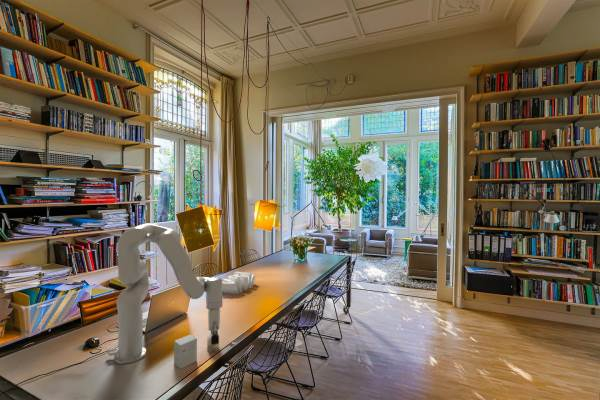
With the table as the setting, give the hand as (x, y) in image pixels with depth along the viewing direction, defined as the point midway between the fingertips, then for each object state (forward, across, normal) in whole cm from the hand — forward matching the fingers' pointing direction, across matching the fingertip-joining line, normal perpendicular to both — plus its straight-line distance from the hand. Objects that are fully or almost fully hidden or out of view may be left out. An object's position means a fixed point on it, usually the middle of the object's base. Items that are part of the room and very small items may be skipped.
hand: (214, 338), depth 139 cm
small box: (+5, +8, -13) cm, 16 cm away
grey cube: (+5, 0, -1) cm, 5 cm away
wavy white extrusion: (+6, -84, +20) cm, 87 cm away
